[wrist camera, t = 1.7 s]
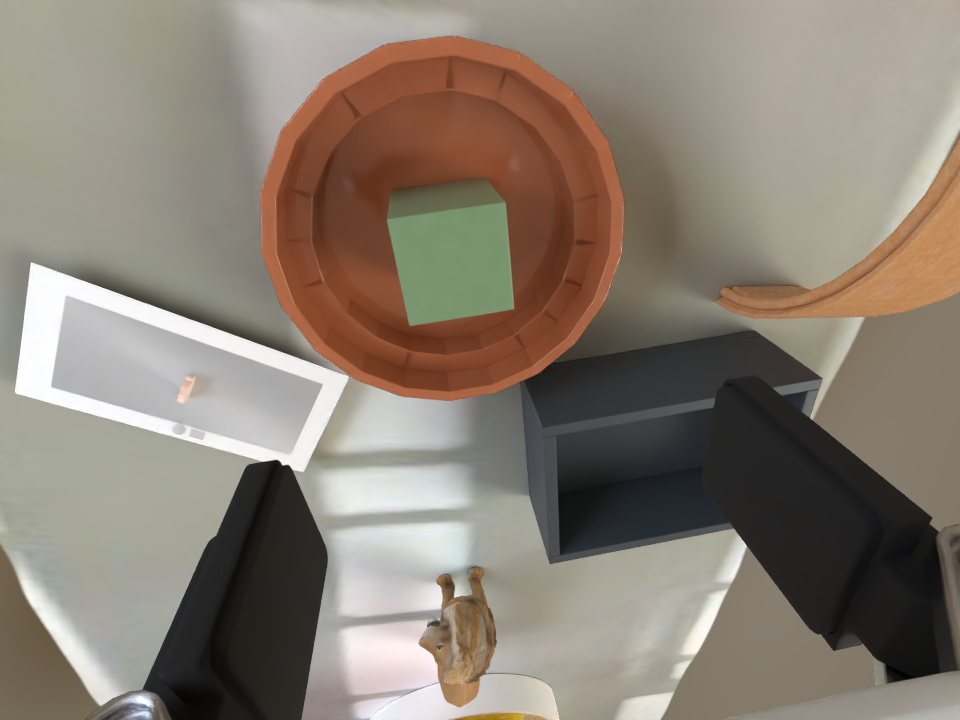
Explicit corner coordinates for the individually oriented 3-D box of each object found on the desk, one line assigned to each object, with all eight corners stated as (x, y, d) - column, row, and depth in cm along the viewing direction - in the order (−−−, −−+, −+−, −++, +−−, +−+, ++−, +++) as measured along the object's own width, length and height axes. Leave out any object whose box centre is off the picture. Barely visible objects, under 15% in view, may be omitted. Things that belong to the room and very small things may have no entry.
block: (390, 190, 22) (386, 219, 18) (485, 176, 23) (506, 201, 18) (408, 280, 25) (409, 327, 20) (493, 266, 25) (515, 310, 20)
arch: (989, -147, 19) (1455, -332, 11) (797, 302, 29) (958, 391, 21) (866, -167, 18) (1266, -385, 10) (712, 302, 28) (844, 396, 20)
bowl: (232, 70, 19) (193, 67, 16) (594, 25, 20) (634, 12, 17) (334, 379, 28) (323, 423, 24) (589, 336, 28) (616, 373, 25)
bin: (519, 369, 29) (542, 427, 24) (754, 329, 30) (823, 378, 25) (529, 496, 35) (549, 564, 30) (725, 460, 36) (776, 520, 31)
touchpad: (47, 254, 22) (14, 270, 20) (351, 366, 27) (347, 387, 25) (29, 381, 25) (-1, 405, 23) (306, 460, 30) (299, 484, 28)
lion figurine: (414, 548, 36) (416, 673, 28) (482, 537, 37) (502, 657, 29) (435, 649, 44) (442, 769, 36) (491, 639, 44) (509, 756, 36)
